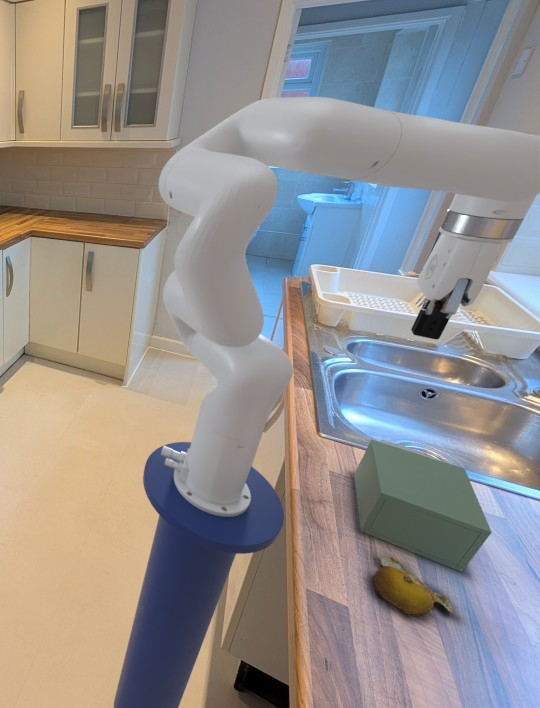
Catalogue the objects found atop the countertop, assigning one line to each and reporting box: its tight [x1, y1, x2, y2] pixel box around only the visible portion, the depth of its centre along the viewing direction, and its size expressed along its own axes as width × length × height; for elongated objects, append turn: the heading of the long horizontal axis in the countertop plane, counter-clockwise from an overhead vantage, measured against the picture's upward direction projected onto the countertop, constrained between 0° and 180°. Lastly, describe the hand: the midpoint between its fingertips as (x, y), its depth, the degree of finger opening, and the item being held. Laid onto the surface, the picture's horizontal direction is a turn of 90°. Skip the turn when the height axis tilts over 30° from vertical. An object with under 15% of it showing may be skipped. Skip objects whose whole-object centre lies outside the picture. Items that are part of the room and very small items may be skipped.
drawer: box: [372, 438, 455, 465], centre depth 71 cm, size 17×10×7 cm, turn 146°
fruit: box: [372, 555, 455, 617], centre depth 58 cm, size 8×8×4 cm
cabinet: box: [353, 439, 492, 573], centre depth 68 cm, size 14×12×9 cm
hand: (424, 335), depth 70 cm, fingers closed
